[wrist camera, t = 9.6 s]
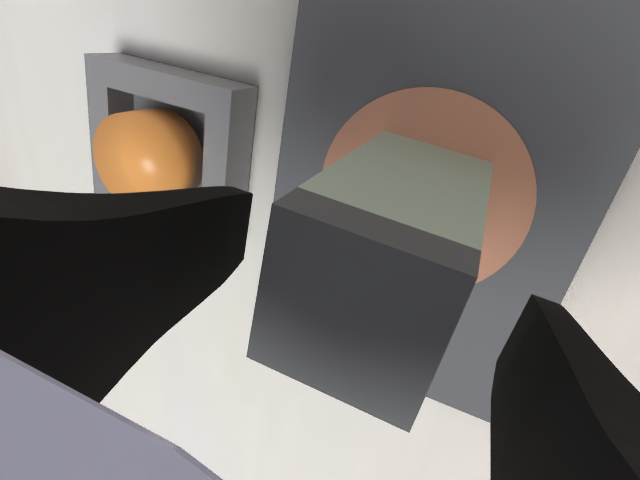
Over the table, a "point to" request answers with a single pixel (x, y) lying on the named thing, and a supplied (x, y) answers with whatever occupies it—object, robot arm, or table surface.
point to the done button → (147, 151)
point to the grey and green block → (372, 273)
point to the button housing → (178, 110)
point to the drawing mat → (480, 133)
